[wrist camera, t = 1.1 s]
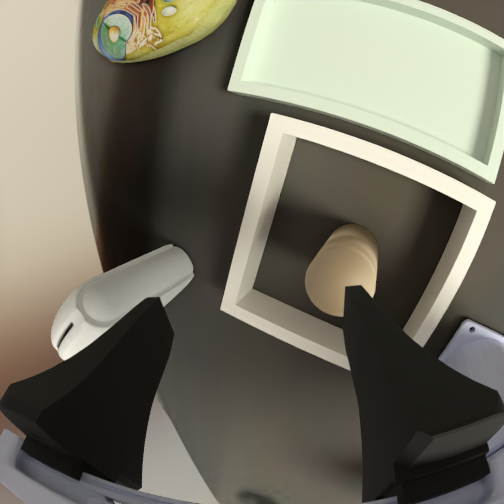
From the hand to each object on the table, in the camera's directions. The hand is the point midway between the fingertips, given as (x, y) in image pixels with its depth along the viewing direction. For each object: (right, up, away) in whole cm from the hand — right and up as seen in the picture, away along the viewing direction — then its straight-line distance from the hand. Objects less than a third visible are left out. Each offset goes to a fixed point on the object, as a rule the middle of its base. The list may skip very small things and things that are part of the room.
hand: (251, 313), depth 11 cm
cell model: (-7, +23, +8) cm, 26 cm away
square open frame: (+7, +2, +8) cm, 11 cm away
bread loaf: (+7, +3, +8) cm, 11 cm away
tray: (+8, +15, +3) cm, 17 cm away
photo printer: (-9, -1, +17) cm, 19 cm away
